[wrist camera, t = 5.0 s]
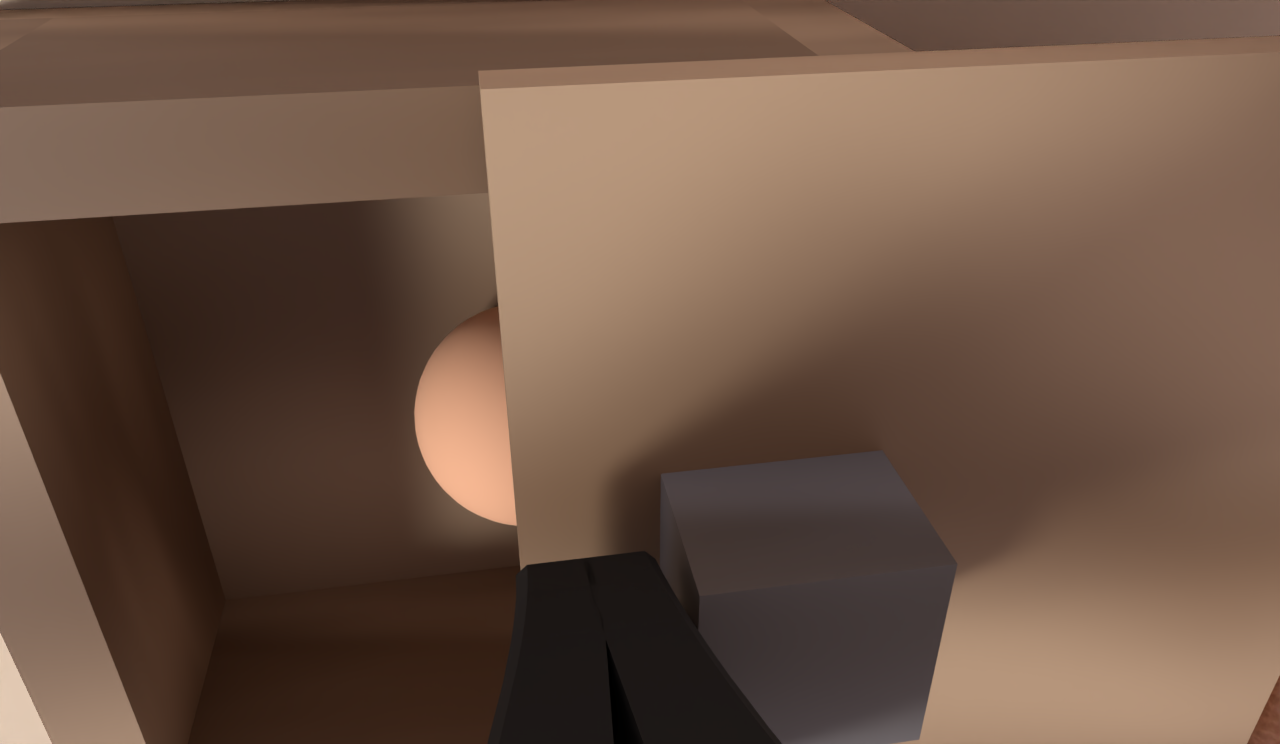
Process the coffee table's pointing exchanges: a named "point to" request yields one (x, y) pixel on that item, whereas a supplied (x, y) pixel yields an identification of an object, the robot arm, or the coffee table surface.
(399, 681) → the keepsake box
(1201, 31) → the coffee table surface
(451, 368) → the ball
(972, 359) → the lid
